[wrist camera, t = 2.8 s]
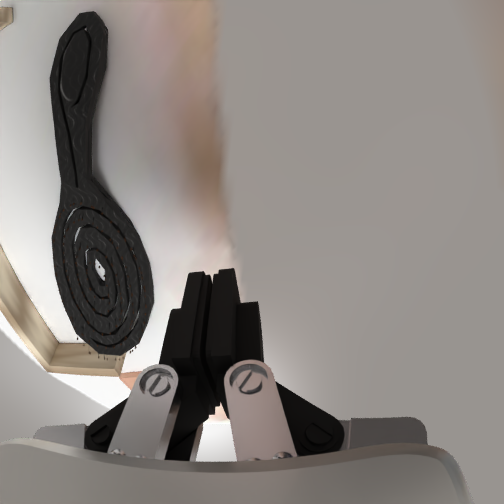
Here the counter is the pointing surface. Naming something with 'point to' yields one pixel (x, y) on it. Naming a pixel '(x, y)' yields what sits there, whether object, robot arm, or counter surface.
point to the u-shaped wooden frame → (32, 325)
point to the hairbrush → (92, 207)
